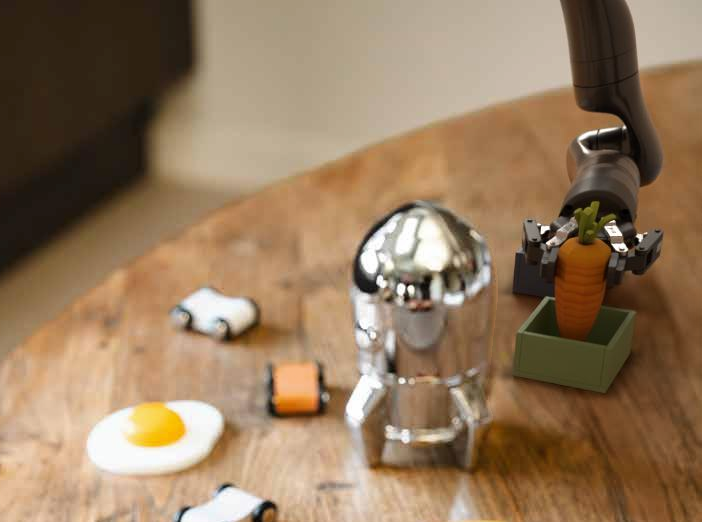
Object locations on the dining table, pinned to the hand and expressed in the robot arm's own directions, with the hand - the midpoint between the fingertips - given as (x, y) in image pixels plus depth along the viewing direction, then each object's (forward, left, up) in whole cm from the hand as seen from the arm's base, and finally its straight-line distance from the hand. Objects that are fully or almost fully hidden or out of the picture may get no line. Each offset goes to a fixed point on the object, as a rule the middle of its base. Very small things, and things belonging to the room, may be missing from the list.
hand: (580, 276), depth 111 cm
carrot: (+1, -3, -9) cm, 10 cm away
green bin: (0, -2, -10) cm, 10 cm away
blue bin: (+7, -21, -10) cm, 25 cm away
